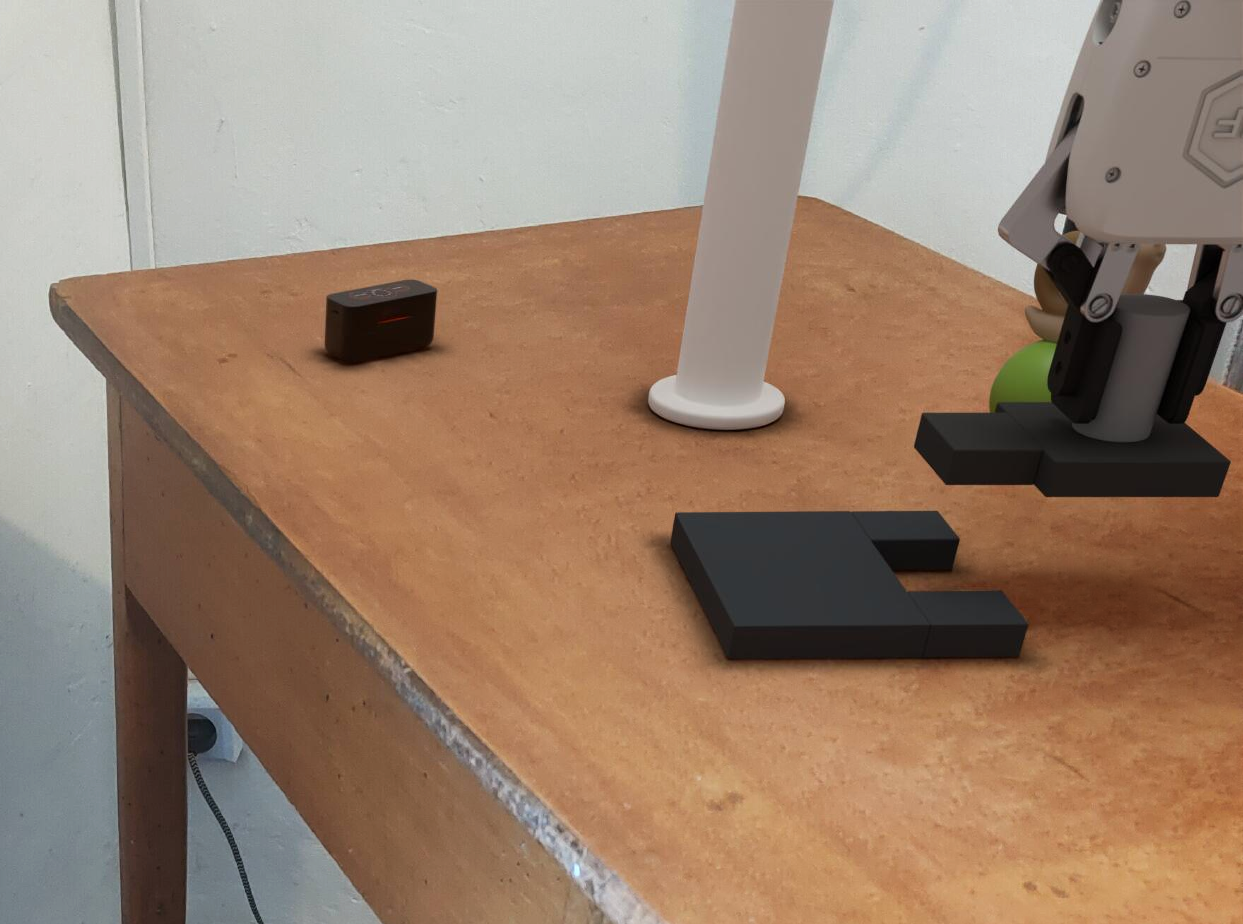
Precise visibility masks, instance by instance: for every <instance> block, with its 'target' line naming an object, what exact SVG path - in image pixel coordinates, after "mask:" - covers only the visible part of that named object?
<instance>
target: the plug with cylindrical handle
mask: <svg viewBox="0 0 1243 924" xmlns="http://www.w3.org/2000/svg"><path fill="white" fill-rule="evenodd" d="M1178 300H1179V299H1175V298H1171V297H1168V296H1167V297H1166V296H1161V295H1157V294H1156V295H1155V294H1148V293H1146V294H1145V293H1144V294H1125V295H1120V298H1119V300H1118V303H1117V307H1116V311H1115V314H1114V317H1113V318H1114V319H1115V320H1116V321H1117V322H1119V323H1120V324H1121V325H1122V335H1121V338H1120V341H1119V344H1118V348H1117V351H1116V354H1115V357H1114V361H1113V364H1112V367H1111V370H1110V374H1109V377H1108V380H1107V383H1106V387H1105V390H1104V393H1103V396H1102V400H1101V403H1100V406H1099V409H1098V413H1097V416H1096V418H1095V419H1094V420H1091V422H1090V423H1088V424H1074V423H1073V422H1072V421H1071V420H1070V419H1069V418H1068V417H1067V416H1066V415H1065V414H1063V413H1062V412H1061V411H1060V410H1059V409H1058V408H1057V407H1056V406H1055V405H1054V404H1053V403H1052V402H998V403H997V405H996V409H995V413H990V412H921V415H920V419H919V424H918V427H917V432H916V434H915V435H916V436H915V439H914V444H913V448H914V450H915V451H917V453H918V454H919V455H920V457H922V459H923V460H924V461H925V462H926V464H927V465H928V466H929V467H930V468H931V469H932V471H933V472H934V473H935V475H937V476H938V478H939V479H940V480H941V481H942V483H943V484H944V485H946V486H1034V487H1035V488H1036V489H1037V490H1039V492H1040V493H1041V495H1043V496H1044V497H1045V498H1219V497H1220V494H1221V491H1222V488H1223V486H1224V483H1225V480H1226V477H1227V474H1228V473H1229V469H1230V467H1231V463H1232V461H1231V460H1230V459H1229V458H1228V457H1227V456H1225V455H1224V454H1223V453H1222V452H1220V451H1219V450H1218V449H1217V448H1216V447H1215V446H1213V445H1212V444H1211V443H1210V442H1209V441H1208V440H1206V439H1205V438H1204V437H1203V436H1202V435H1200V434H1199V433H1198V432H1197V431H1195V430H1194V428H1192V427H1190V426H1189V424H1187V423H1186V422H1185V423H1183V424H1169V423H1167V422H1166V421H1165V420H1164V419H1162V418H1161V417H1160V416H1159V415H1158V414H1157V411H1158V408H1159V405H1160V402H1161V399H1162V396H1163V393H1164V390H1165V387H1166V384H1167V381H1168V377H1169V374H1170V371H1171V368H1172V365H1173V362H1174V359H1175V356H1176V353H1177V350H1178V347H1179V344H1180V341H1181V338H1182V335H1183V331H1184V328H1185V325H1186V322H1187V319H1188V316H1189V313H1190V308H1189V306H1187V305H1186V304H1184V303H1182V302H1180V301H1178Z"/></svg>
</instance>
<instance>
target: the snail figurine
mask: <svg viewBox="0 0 1243 924" xmlns="http://www.w3.org/2000/svg"><path fill="white" fill-rule="evenodd" d="M1079 234H1080V231H1079V230H1072V231H1069V232H1066V233H1064V234H1062V235H1063V236H1064V237H1066V238H1067V239H1068V240H1070V241H1071V242H1072V243H1074V244H1075V245H1076V242H1077V240H1078V237H1079ZM1166 253H1167V244H1141V245H1140V248H1139V250H1138V253H1137V255H1136V258H1135V260H1134V263H1133V265H1132V268H1131V270H1130V273H1129V275H1128V278H1127V280H1126V283H1125V285H1124V288H1123V290H1122V293H1121V295H1125V294H1145V293H1146V291H1147V289H1148V287H1149V285H1150V283H1151V280H1152V279H1153V278H1152V277H1153V276H1154V273H1155V271H1156V270H1157V268H1158V267H1159V265H1161V263H1162V262H1163V261H1164V258H1165V256H1166ZM1033 290H1034V294H1035V298H1036V300H1037V302H1038V305H1039V306H1040V308H1039V307H1037V306H1035V305H1026V306H1025V308H1024V314H1025V315H1024V316H1025V317H1026V320H1027V321H1026V322H1027V323H1028V325H1029V326H1030V329H1031V330H1032V331H1033V333H1034V334H1035V335H1036V336H1037V337H1039V338H1041V339H1040V340H1037V341H1034V342H1032V343H1030V344H1027V345H1026V346H1024V347H1022V348H1021V349H1019V350H1017V352H1015V353H1014V354H1013V355H1012V356H1010V357H1009V358H1008V359H1007V360H1006V361H1005V363H1004V364H1003V365H1002V366H1001V368H1000V369H999V371H998V373H997V374H996V376H995V378H994V380H993V383H992V384H991V385H992V386H991V388H990V391H989V393H990V394H989V400H988V407H989V408H988V409H989V413H995V409H996V405H997V403H998V402H1051V392H1050V391H1049V390H1048V386H1047V379H1048V373H1049V370H1050V366H1051V363H1052V359H1053V356H1054V352H1055V349H1056V345H1057V342H1058V338H1059V335H1060V331H1061V328H1062V324H1063V321H1064V317H1065V314H1066V310H1067V307H1068V304H1067V302H1066V301H1065V300H1063V299H1062V298H1061V296H1060V293H1059V290H1058V289H1057V288H1056V286H1055V285H1054V283H1053V282H1052V280H1051V279H1050V277H1049V276H1048V274H1047V273H1046V271H1045V270H1044V268H1043V267H1042V266H1041V265H1039V264H1038V263H1036V266H1035V269H1034V276H1033Z"/></svg>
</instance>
